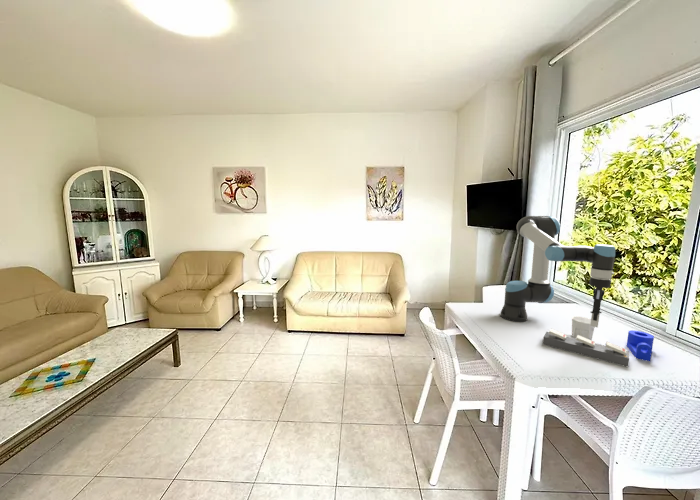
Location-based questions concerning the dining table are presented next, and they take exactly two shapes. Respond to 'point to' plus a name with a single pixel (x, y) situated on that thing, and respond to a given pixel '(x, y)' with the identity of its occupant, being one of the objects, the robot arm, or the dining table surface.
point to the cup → (582, 327)
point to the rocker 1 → (558, 334)
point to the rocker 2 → (585, 340)
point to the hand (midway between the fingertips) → (594, 326)
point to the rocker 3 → (615, 348)
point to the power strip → (586, 349)
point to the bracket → (640, 344)
